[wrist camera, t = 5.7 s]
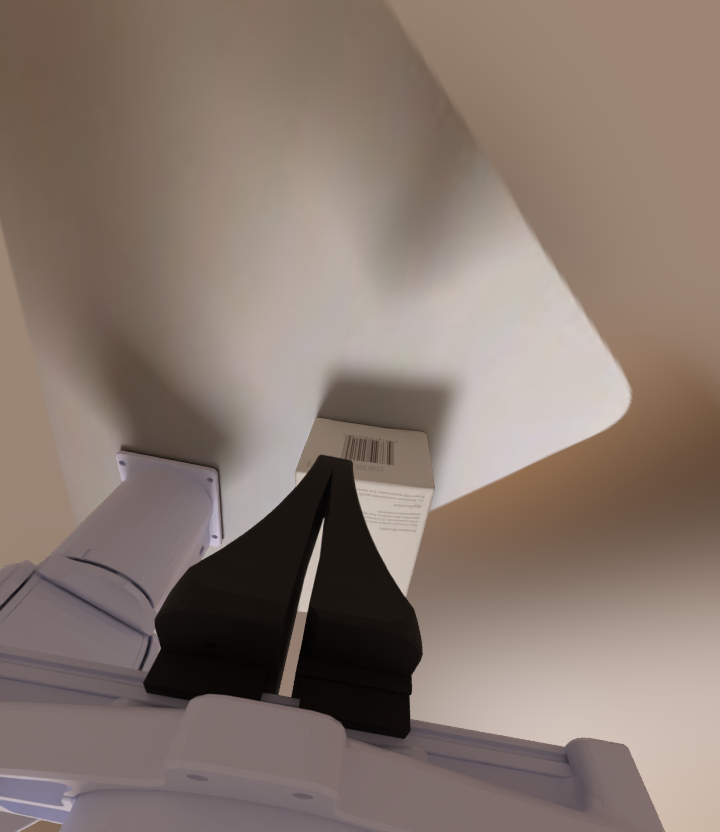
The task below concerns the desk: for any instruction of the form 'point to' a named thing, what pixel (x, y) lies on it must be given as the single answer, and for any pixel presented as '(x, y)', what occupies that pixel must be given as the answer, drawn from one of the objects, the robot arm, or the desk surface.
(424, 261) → the desk surface
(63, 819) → the robot arm
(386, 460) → the skincare box
